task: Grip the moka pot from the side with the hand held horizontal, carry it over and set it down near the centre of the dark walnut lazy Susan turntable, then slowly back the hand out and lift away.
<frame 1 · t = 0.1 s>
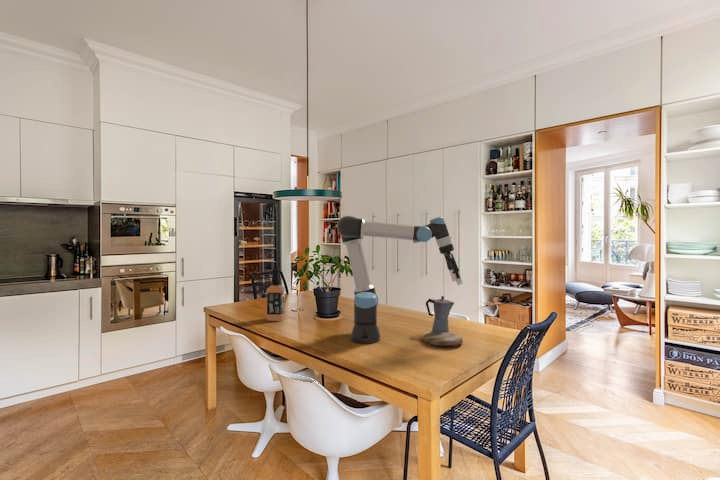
hand: (457, 282, 201), 28 cm above the table, tool tilted 20°, fingers open, 13 cm apart
turntable base: (442, 342, 187), on the table
turntable: (442, 338, 187), point 2 cm above the table, hinge at 0.0°
moka pot: (439, 332, 206), on the table
whiskey bottle: (275, 319, 235), on the table
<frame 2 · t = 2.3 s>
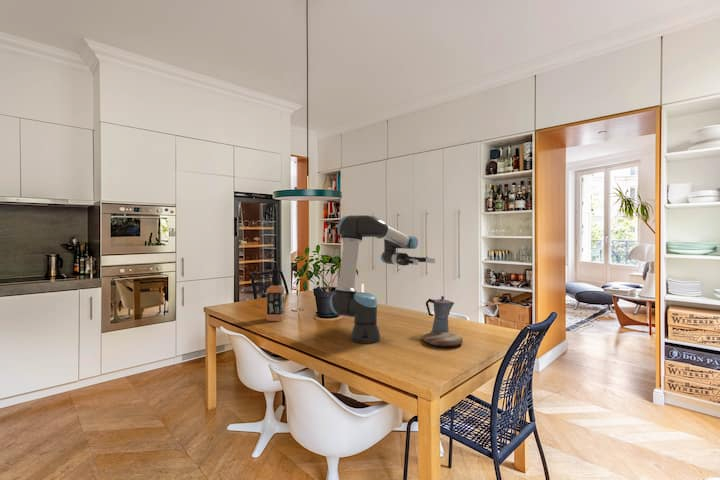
hand: (426, 261, 212), 38 cm above the table, tool horizontal, fingers open, 13 cm apart
nothing on the table moved.
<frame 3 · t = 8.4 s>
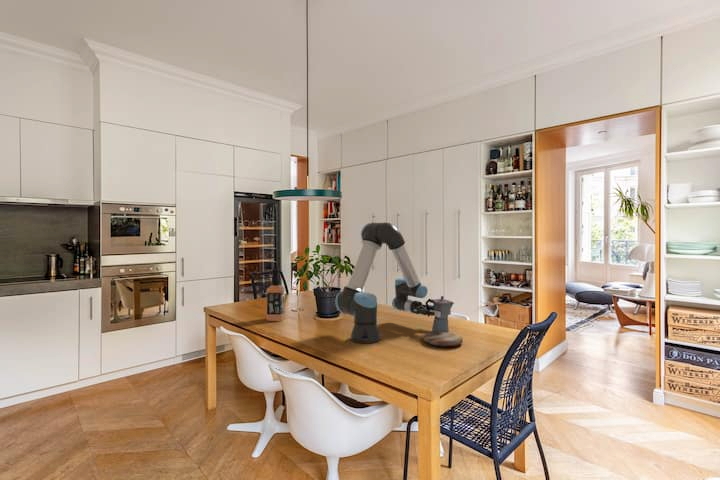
hand: (445, 313, 203), 11 cm above the table, tool horizontal, fingers closed on moka pot, 8 cm apart
moka pot: (439, 332, 206), on the table, touching gripper
everything else where it was.
when the fingers open (14 cm above the table, at t = 15.3 s): moka pot moves 1 cm, resting on turntable.
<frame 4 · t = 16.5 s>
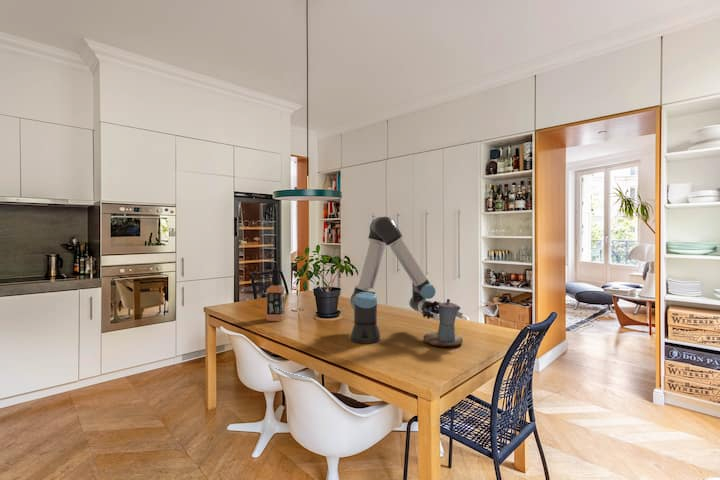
hand: (450, 316, 181), 14 cm above the table, tool horizontal, fingers open, 13 cm apart
turntable: (442, 338, 187), point 2 cm above the table, hinge at 0.0°, touching moka pot
moka pot: (445, 339, 183), point 2 cm above the table, touching turntable
everything else where it was.
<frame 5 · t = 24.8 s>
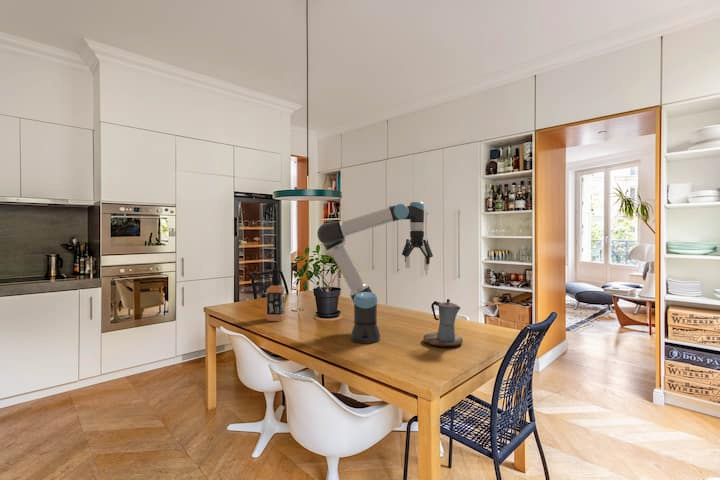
hand: (416, 269, 205), 35 cm above the table, tool pointing down, fingers open, 13 cm apart
nothing on the table moved.
at the end: moka pot 3.5 cm from the turntable (horizontally); moka pot point 2.5 cm above the table; moka pot tilted 0° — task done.
